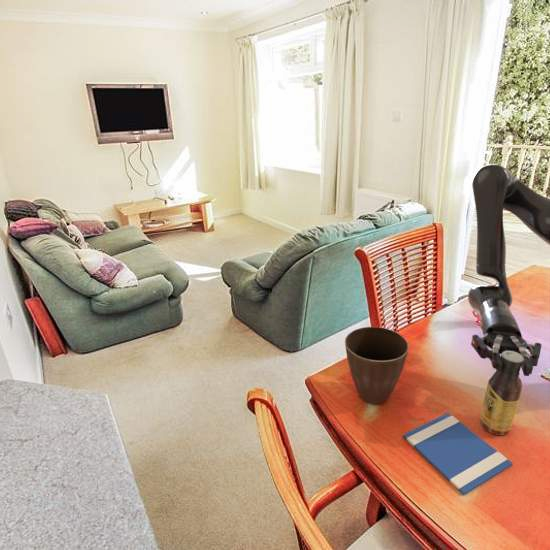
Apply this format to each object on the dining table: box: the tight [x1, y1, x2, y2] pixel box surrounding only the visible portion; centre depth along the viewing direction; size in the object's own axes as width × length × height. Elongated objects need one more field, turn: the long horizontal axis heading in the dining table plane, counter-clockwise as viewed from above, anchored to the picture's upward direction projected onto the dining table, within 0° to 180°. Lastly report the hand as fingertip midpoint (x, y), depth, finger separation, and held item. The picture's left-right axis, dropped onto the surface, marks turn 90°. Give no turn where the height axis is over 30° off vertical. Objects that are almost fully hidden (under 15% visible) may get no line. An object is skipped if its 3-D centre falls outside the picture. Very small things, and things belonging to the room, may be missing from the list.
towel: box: [402, 412, 513, 496], centre depth 80 cm, size 14×16×1 cm
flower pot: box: [344, 326, 410, 405], centre depth 94 cm, size 15×15×16 cm
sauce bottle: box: [479, 351, 524, 436], centre depth 81 cm, size 7×6×20 cm
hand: (513, 370), depth 76 cm, fingers open, 4 cm apart
